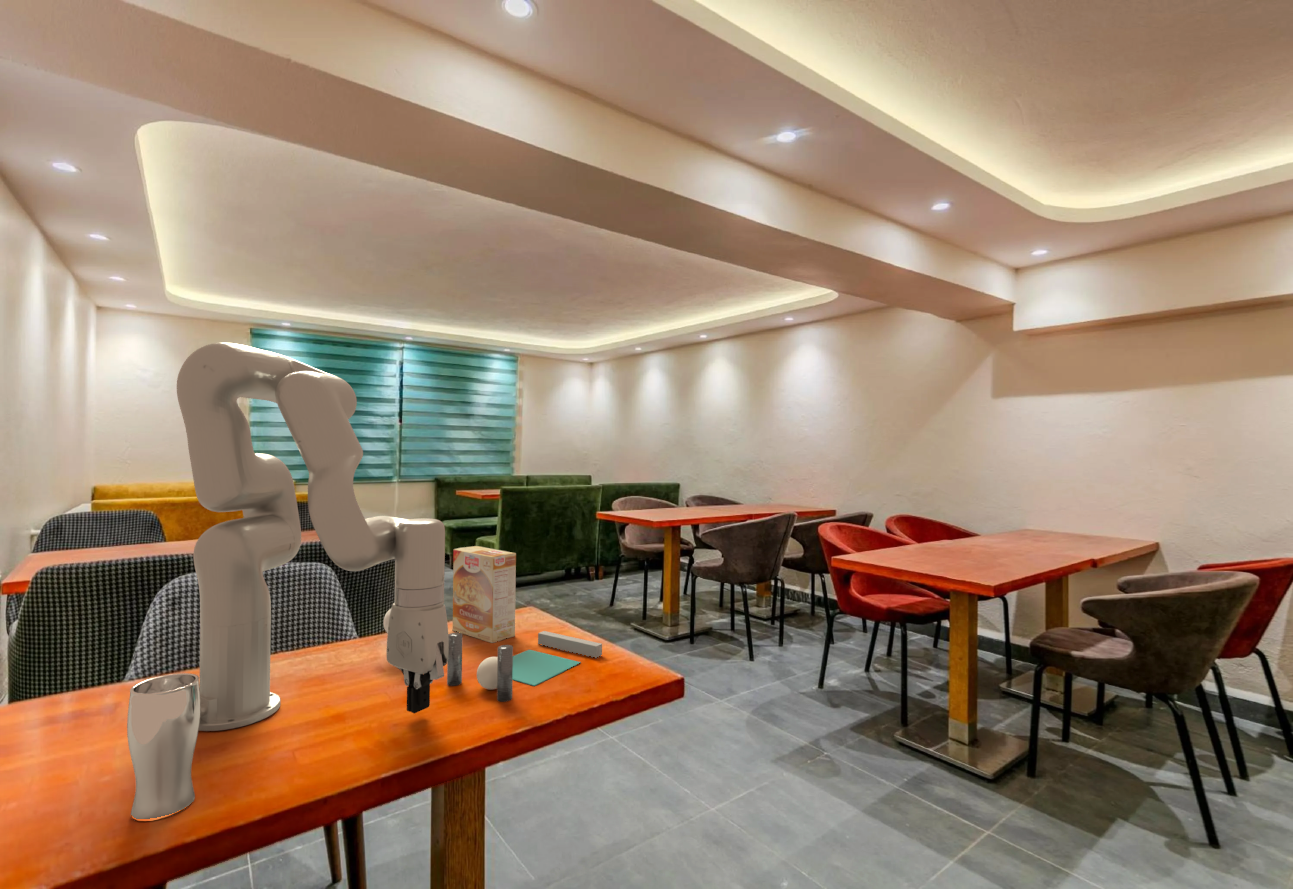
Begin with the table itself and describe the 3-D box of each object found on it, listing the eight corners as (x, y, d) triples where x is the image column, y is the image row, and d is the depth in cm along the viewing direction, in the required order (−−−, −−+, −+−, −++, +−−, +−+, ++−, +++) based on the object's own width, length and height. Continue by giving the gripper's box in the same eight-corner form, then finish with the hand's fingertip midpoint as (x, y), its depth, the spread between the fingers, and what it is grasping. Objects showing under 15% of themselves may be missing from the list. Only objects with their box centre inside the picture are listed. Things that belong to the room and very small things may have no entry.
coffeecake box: (451, 630, 143) (452, 548, 143) (475, 624, 149) (476, 545, 149) (491, 644, 134) (492, 556, 134) (516, 636, 140) (517, 552, 140)
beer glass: (149, 830, 69) (150, 699, 69) (112, 816, 71) (113, 689, 71) (212, 797, 75) (214, 677, 75) (176, 785, 78) (178, 669, 78)
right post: (504, 703, 103) (505, 650, 103) (493, 699, 105) (494, 648, 105) (515, 697, 106) (516, 646, 106) (504, 694, 107) (505, 643, 107)
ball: (493, 698, 106) (491, 667, 106) (471, 691, 109) (468, 661, 108) (515, 684, 111) (513, 654, 110) (493, 678, 114) (491, 649, 113)
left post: (453, 687, 110) (454, 637, 110) (444, 684, 111) (444, 635, 111) (464, 682, 112) (465, 634, 112) (455, 679, 114) (455, 631, 114)
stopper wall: (596, 658, 126) (596, 646, 126) (538, 644, 134) (538, 633, 134) (601, 655, 127) (602, 643, 127) (543, 642, 136) (544, 630, 136)
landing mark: (534, 686, 111) (534, 685, 111) (480, 670, 118) (480, 669, 118) (580, 663, 123) (580, 662, 123) (529, 650, 130) (529, 649, 130)
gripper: (370, 594, 98) (368, 706, 98) (431, 608, 90) (430, 730, 90) (409, 585, 104) (408, 691, 104) (470, 597, 97) (468, 711, 97)
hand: (418, 709), depth 97 cm, fingers closed
